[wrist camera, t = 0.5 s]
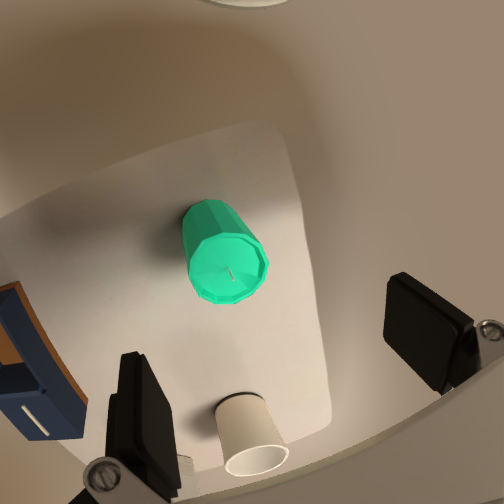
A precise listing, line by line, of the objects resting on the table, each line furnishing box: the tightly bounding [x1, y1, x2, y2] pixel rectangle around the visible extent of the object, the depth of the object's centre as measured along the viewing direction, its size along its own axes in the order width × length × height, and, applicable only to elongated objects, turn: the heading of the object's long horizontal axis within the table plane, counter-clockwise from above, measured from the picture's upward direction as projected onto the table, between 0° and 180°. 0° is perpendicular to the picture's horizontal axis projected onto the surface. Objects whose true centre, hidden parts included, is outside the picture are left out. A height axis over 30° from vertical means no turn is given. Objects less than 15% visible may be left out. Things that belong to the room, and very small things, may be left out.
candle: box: [182, 200, 269, 304], centre depth 27 cm, size 6×6×12 cm
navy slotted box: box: [0, 281, 88, 441], centre depth 28 cm, size 20×10×8 cm, turn 10°
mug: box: [215, 393, 289, 477], centre depth 40 cm, size 11×9×10 cm
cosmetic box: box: [171, 455, 201, 503], centre depth 41 cm, size 6×4×12 cm
